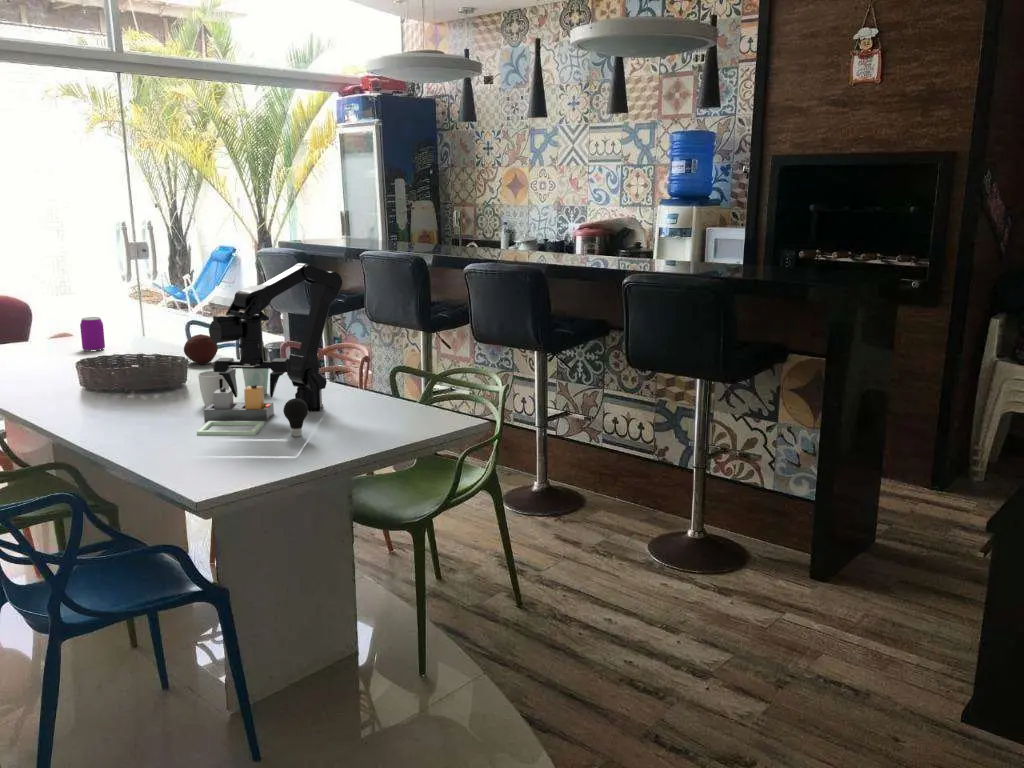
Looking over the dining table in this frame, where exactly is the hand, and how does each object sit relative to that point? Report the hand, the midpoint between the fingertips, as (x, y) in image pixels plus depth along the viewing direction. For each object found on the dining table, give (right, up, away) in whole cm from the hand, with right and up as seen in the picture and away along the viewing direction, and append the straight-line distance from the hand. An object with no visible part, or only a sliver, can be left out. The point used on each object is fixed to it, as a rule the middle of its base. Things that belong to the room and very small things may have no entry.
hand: (253, 397), depth 224 cm
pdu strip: (-4, -6, +1) cm, 8 cm away
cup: (-15, -4, +13) cm, 20 cm away
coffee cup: (-9, 0, +31) cm, 33 cm away
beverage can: (-89, +16, +96) cm, 132 cm away
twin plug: (-8, -5, +1) cm, 10 cm away
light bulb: (+15, -10, -13) cm, 22 cm away
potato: (-41, +11, +75) cm, 86 cm away
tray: (-2, -9, -10) cm, 14 cm away
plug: (0, -5, +1) cm, 6 cm away
